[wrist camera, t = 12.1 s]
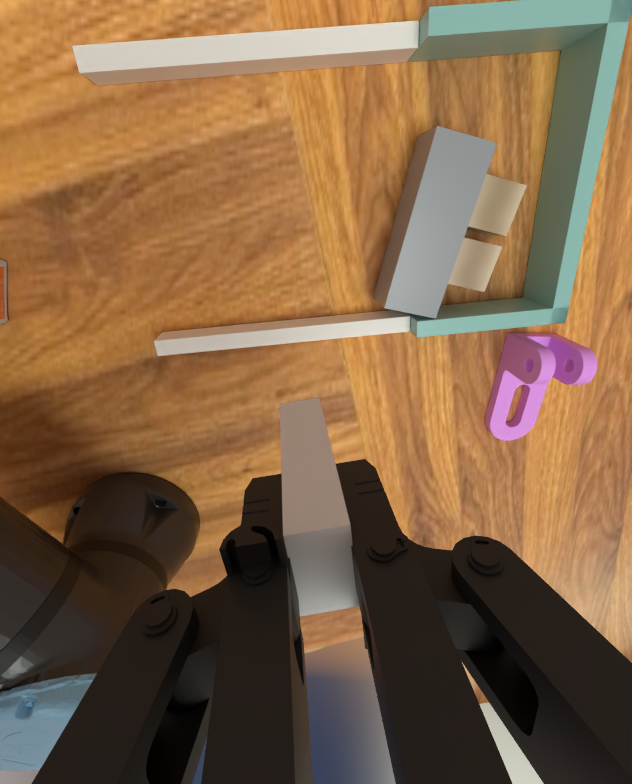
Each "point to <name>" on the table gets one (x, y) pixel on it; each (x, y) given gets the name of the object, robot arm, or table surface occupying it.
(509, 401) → the bracket
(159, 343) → the channel
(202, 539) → the table surface
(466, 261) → the chip
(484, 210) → the chip
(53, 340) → the table surface
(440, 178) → the block
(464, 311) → the bay
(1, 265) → the skincare box
